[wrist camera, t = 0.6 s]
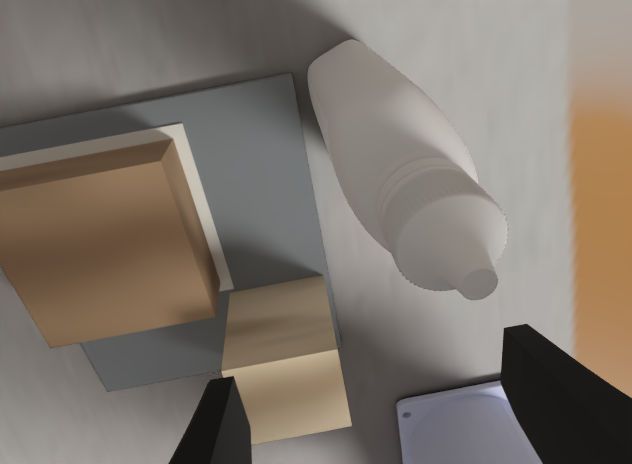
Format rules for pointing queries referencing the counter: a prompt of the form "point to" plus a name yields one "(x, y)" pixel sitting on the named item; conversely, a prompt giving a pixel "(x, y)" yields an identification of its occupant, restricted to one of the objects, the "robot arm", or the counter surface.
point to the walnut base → (106, 244)
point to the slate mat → (203, 205)
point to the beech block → (285, 360)
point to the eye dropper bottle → (406, 172)
